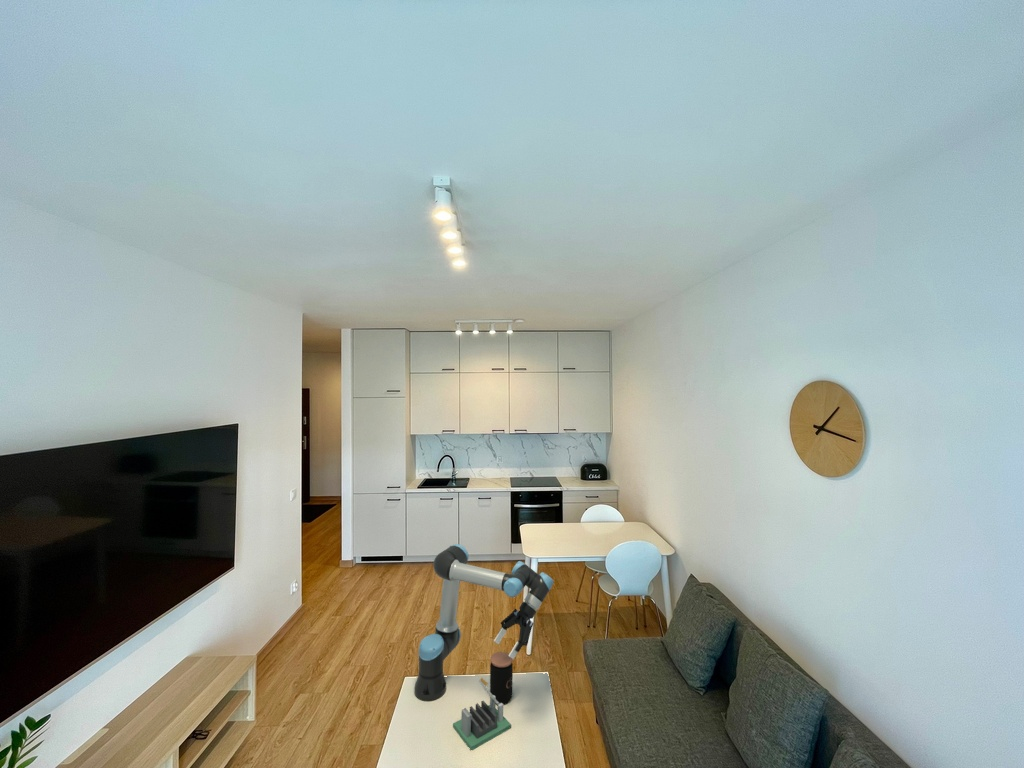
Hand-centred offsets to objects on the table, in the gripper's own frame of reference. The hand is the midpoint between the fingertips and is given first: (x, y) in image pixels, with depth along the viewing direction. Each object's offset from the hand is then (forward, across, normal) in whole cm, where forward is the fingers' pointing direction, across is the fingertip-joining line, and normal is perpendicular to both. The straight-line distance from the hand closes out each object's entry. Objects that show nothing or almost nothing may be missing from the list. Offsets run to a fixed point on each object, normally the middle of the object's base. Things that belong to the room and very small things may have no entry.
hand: (503, 650), depth 183 cm
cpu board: (+28, +1, -13) cm, 31 cm away
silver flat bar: (+17, +1, -7) cm, 19 cm away
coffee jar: (+18, +13, -24) cm, 33 cm away
